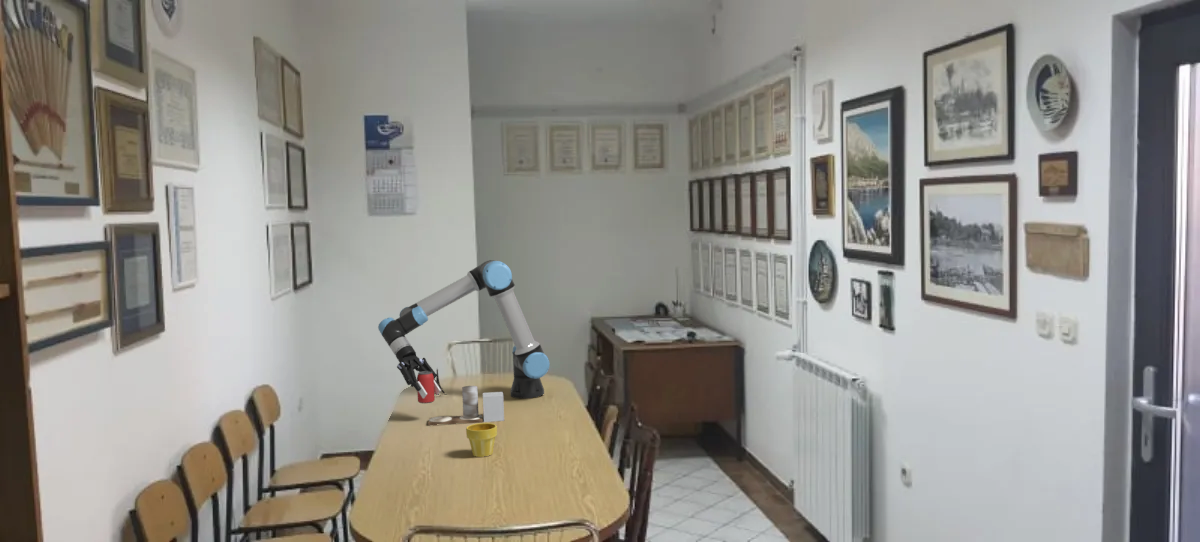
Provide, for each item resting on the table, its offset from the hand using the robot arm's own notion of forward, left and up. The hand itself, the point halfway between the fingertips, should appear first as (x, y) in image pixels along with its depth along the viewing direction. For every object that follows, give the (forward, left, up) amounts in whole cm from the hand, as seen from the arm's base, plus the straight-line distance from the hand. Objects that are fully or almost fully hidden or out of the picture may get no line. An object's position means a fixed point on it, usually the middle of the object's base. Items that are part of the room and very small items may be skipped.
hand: (432, 394), depth 342 cm
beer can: (+3, -3, -4) cm, 5 cm away
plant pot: (-19, +53, -11) cm, 57 cm away
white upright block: (-24, +2, -11) cm, 26 cm away
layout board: (-9, +2, -11) cm, 14 cm away
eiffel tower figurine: (0, -54, -12) cm, 55 cm away
